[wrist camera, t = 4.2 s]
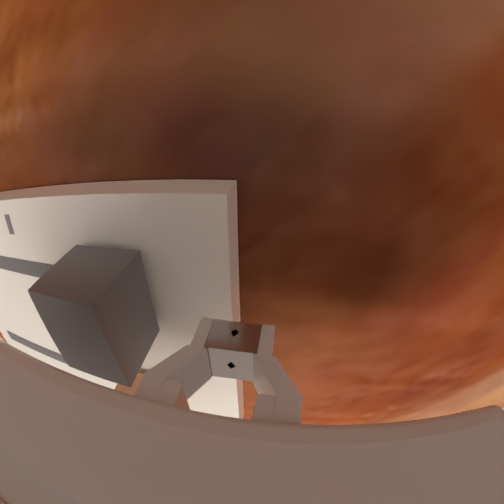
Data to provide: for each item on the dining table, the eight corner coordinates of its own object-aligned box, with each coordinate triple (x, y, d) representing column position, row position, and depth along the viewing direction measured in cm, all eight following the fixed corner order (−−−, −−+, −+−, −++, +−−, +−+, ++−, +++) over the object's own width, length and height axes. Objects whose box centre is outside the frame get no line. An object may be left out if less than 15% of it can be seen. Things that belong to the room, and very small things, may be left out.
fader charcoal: (139, 250, 12) (92, 306, 9) (159, 330, 15) (130, 387, 11) (76, 244, 13) (27, 290, 9) (101, 318, 15) (68, 366, 12)
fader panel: (236, 180, 13) (226, 195, 11) (244, 411, 23) (240, 431, 21) (-39, 198, 16) (-54, 207, 14) (25, 347, 26) (17, 358, 24)
